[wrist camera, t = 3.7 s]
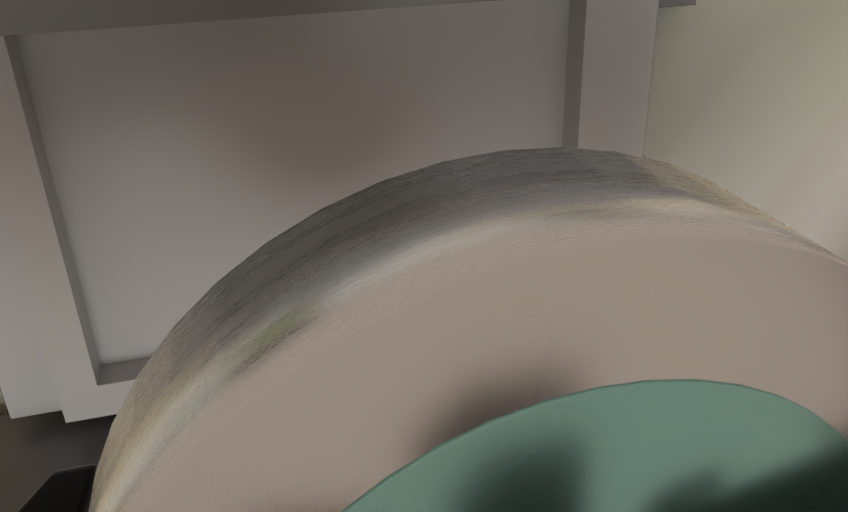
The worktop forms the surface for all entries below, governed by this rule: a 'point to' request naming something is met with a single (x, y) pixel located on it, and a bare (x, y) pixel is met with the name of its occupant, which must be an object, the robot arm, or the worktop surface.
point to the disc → (503, 355)
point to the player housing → (180, 11)
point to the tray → (248, 165)
